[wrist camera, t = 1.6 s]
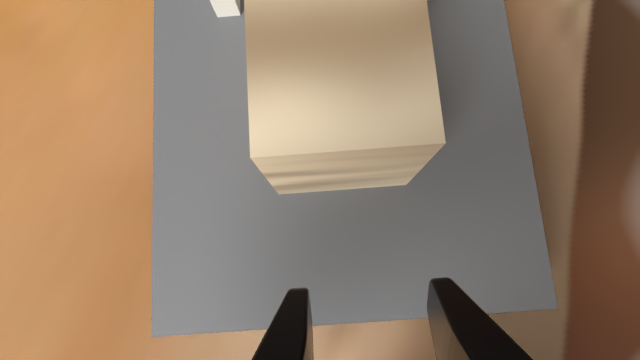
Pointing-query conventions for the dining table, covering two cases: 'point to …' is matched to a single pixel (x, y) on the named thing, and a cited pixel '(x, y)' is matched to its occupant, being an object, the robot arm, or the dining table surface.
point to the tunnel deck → (337, 191)
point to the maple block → (341, 92)
